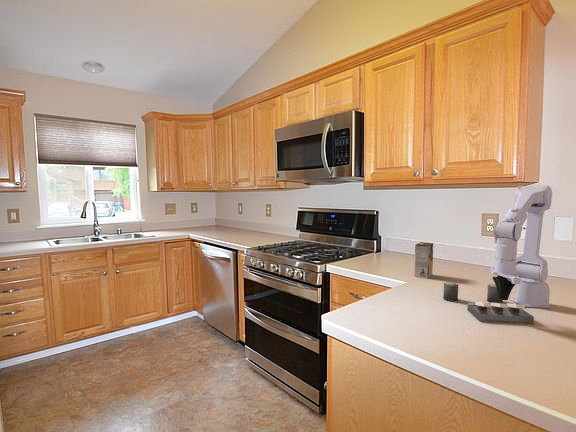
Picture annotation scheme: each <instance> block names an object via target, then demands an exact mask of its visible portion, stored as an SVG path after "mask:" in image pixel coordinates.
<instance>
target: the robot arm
mask: <svg viewBox="0 0 576 432" xmlns="http://www.w3.org/2000/svg"><path fill="white" fill-rule="evenodd" d="M552 191H553V190H552V187H550V185H546V186H545V185H544V186H543V185H542V186H541V185H540V186H539V185H538V186H533V185H532V186H531V185H530V186H529V185H527V186H524V185H523V186H522V185H519V186H517V187H516V189H515V192H514V199H515V201H516V202H515V205H514V207H511V208H509V209H508V210H507V212H506V213H505V215H504V216H503V218H502V220H501V221H498V222H496V223H495V224H494V226H493V227H494V228H493V237H494V242H493V243H494V245H495V259H494V266H491V267H490V273H491V274H492V275H496V276H492V280H493V282H494V284H495V285H496V288H497V292H498V297H499V299H500V300H503V301H508V300H509V298H510V294H511V292H512V290H513V288H514V287H515V286H516V292H515V293H516V296H515V298H514V297H513V298H510V300H511V301H512V302H514V303H515V304H522V305H524V307H525V308H526V307H527V308H545V309H546V308H547V309H550V308H551V307H550V306H549V305H550V292H551V291H550V286H549V284H548V283H547V282H546V281H547V278H548V274H549V270H548V269H549V268H548V267H549V266H548V265H549V264H548V261H547V260H546V259H544V258H543V257H542V255H540V247H541V239H542V232H543V231H542V230H543V228H542V227H543V219H544V214H545V211H547V210H550V209H551V205H552V199H553V192H552ZM525 223H526V225H525V235H524V240H523V241H524V242H523V243H524V244H523V250H522V254H520V255H518V241H520V239H521V236H522V232H523V226H524V224H525Z"/></svg>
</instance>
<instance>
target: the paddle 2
mask: <svg viewBox="0 0 576 432" xmlns="http://www.w3.org/2000/svg"><path fill="white" fill-rule="evenodd" d="M506 304H508V307H513V308H521V309H525V308H526V307H524V305H522V304H517V303H509V302H507V303H506Z"/></svg>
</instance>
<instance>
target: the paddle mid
mask: <svg viewBox="0 0 576 432" xmlns="http://www.w3.org/2000/svg"><path fill="white" fill-rule="evenodd" d="M491 306H496V307H504V308H508V304H507V303H503V302H502V303H491Z"/></svg>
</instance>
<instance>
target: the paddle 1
mask: <svg viewBox="0 0 576 432" xmlns="http://www.w3.org/2000/svg"><path fill="white" fill-rule="evenodd" d="M475 304H476V305H479V306H483V307H491V303H490V302H483V301H476V302H475Z"/></svg>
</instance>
